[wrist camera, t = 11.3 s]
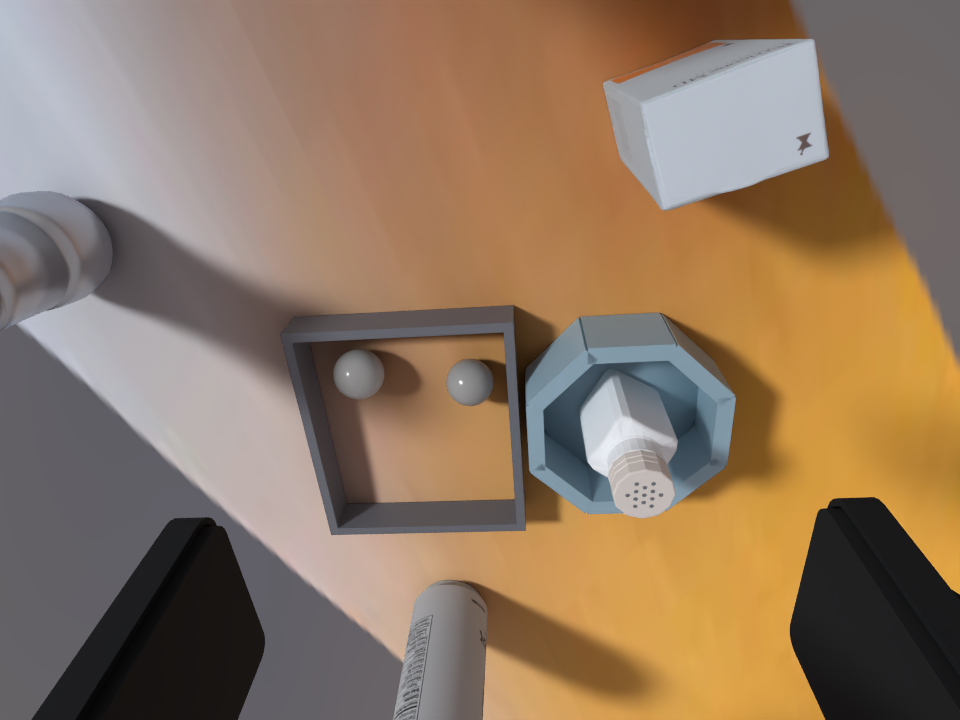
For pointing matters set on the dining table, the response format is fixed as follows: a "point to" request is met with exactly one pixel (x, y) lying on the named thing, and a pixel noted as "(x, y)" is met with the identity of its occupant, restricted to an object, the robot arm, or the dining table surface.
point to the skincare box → (719, 117)
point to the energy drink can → (444, 655)
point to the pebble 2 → (470, 382)
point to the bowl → (646, 358)
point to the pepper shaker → (630, 443)
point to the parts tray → (320, 442)
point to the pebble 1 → (358, 374)
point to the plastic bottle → (48, 254)
